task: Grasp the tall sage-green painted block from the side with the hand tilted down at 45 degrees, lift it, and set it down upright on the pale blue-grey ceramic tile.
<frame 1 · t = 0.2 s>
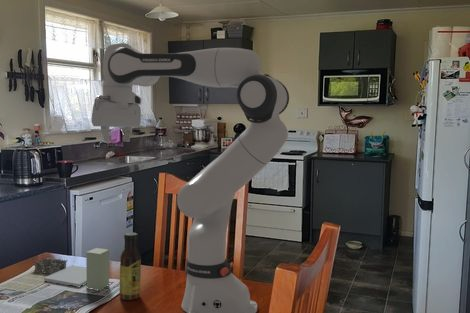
hand: (117, 141, 143), 48 cm above the table, tool pointing down, fingers open, 8 cm apart
sage block: (97, 286, 150), on the table
sauce bottle: (130, 297, 142), on the table
tile: (75, 277, 157), on the table
mossy rock: (50, 270, 165), on the table
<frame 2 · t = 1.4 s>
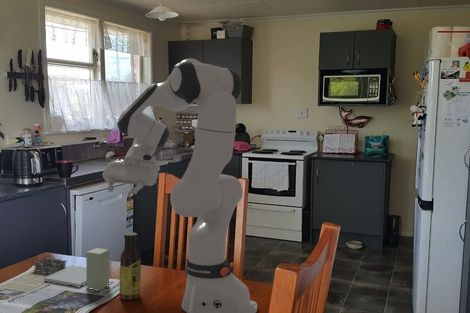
hand: (121, 191, 159), 29 cm above the table, tool tilted 45°, fingers open, 8 cm apart
nothing on the table moved.
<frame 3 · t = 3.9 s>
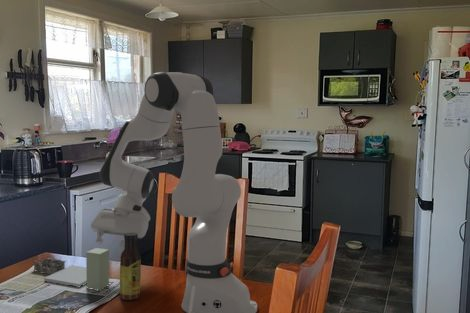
hand: (110, 244, 155), 12 cm above the table, tool tilted 45°, fingers open, 8 cm apart
nothing on the table moved.
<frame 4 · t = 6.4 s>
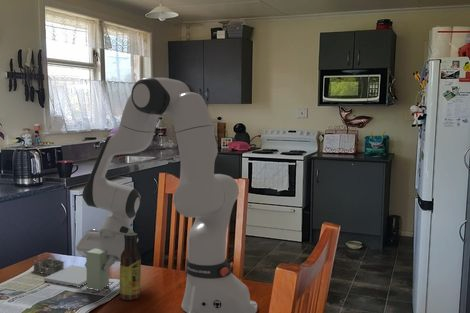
hand: (95, 268, 148), 6 cm above the table, tool tilted 45°, fingers closed on sage block, 5 cm apart
sage block: (97, 286, 150), on the table, touching gripper
everything else where it was.
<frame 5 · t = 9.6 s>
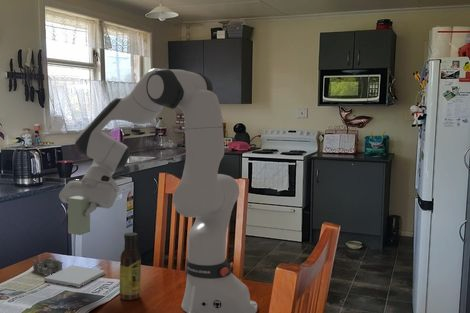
hand: (77, 214, 154), 22 cm above the table, tool tilted 45°, fingers closed on sage block, 5 cm apart
sage block: (79, 232, 155), point 16 cm above the table, touching gripper
when the fingers open (9 cm above the table, at t = 13.3 s): sage block drops 1 cm, resting on tile.
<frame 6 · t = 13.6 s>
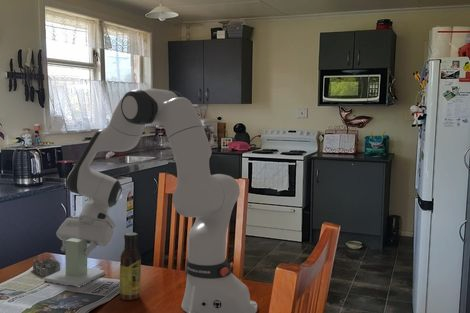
hand: (74, 252, 156), 9 cm above the table, tool tilted 45°, fingers open, 8 cm apart
sage block: (76, 273, 158), point 1 cm above the table, touching tile
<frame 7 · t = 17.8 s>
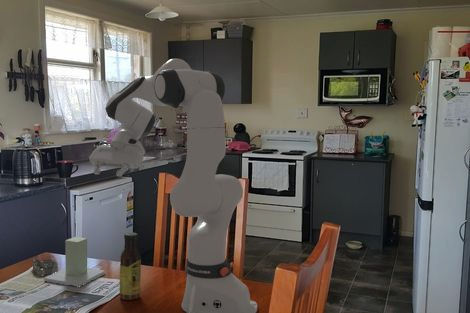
hand: (107, 174, 165), 34 cm above the table, tool tilted 45°, fingers open, 8 cm apart
at the end: sage block inside the target area on the tile (0.5 cm from its centre), point 1.2 cm above the tile's base; sage block tilted 0° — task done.
